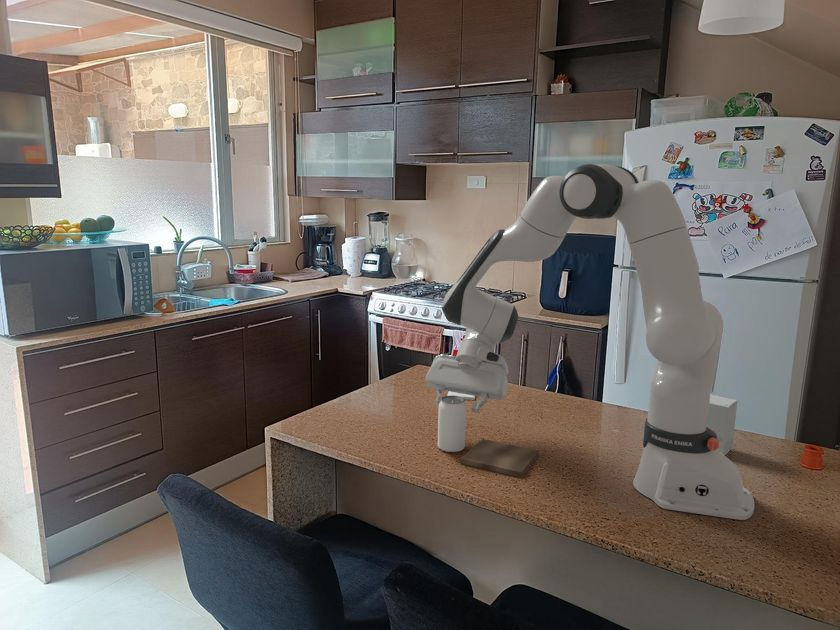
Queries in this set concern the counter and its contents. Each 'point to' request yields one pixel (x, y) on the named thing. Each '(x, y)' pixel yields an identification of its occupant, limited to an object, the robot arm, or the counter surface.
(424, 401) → the counter surface
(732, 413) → the supplement box
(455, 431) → the can
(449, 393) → the external hard drive
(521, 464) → the walnut board
